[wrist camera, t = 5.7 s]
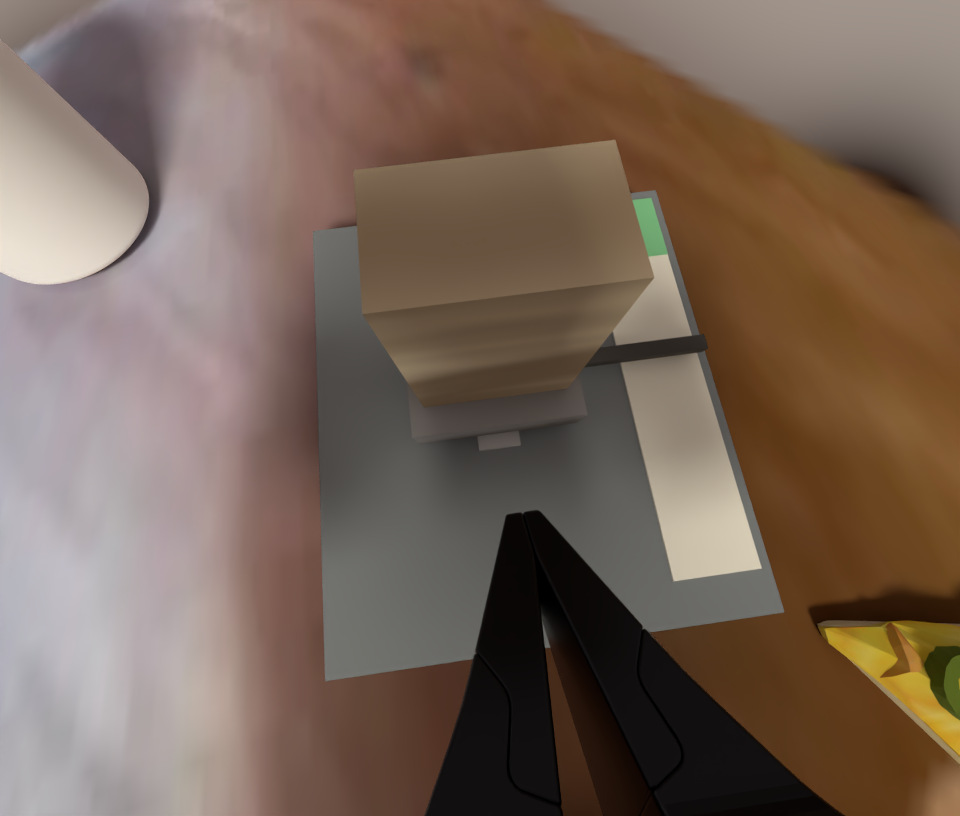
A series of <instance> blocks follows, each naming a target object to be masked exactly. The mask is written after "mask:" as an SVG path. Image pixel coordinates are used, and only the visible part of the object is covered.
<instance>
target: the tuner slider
mask: <svg viewBox="0 0 960 816" xmlns="http://www.w3.org/2000/svg"><path fill="white" fill-rule="evenodd" d="M353 172H354V188H355V204H356V220H357V236H358V253H359V269H360V285H361V301H362V314H363V316H364V317H365V319H366V320H367V322H368V324H369V325H370V327H371V328H372V330H373V331H374V333H375V334H376V336H377V337H378V339H379V340H380V342H381V343H382V345H383V346H384V348H385V349H386V351H387V352H388V354H389V355H390V357H391V358H392V360H393V361H394V363H395V364H396V366H397V367H398V369H399V370H400V372H401V373H402V375H403V376H404V378H405V380H406V381H407V388H408V399H409V410H410V421H411V432H412V438H413V439H414V440H415V441H416V442H417V443H419V444H423V443H430V442H438V441H445V440H452V439H460V438H467V437H475V436H482V435H489V434H497V433H504V432H512V431H519V430H527V429H534V428H541V427H549V426H556V425H564V424H571V423H577V422H579V421H580V420H581V419H582V418H584V417H585V416H586V415H588V414H587V410H586V405H585V400H584V395H583V391H582V386H581V381H580V377H579V373H580V372H581V371H582V369H583V368H584V367H592V366H599V365H607V364H615V363H622V362H630V361H638V360H645V359H653V358H661V357H668V356H676V355H683V354H691V353H699V352H703V351H704V350H706V349H707V348H708V346H707V343H706V340H705V336H704V334H701V335H693V336H685V337H677V338H670V339H662V340H654V341H647V342H639V343H631V344H623V345H616V346H608V347H600V346H601V345H602V344H603V343H604V341H605V340H606V339H607V337H608V336H609V335H610V334H611V332H612V331H613V330H614V329H615V327H616V326H617V325H618V323H619V322H620V321H621V320H622V318H623V317H624V316H625V314H626V313H627V312H628V311H629V309H630V308H631V307H632V306H633V304H634V303H635V302H636V300H637V299H638V298H639V297H640V295H641V294H642V293H643V292H644V290H645V289H646V288H647V286H648V285H649V284H650V283H651V281H652V280H653V279H654V274H653V271H652V267H651V264H650V260H649V257H648V253H647V250H646V246H645V243H644V239H643V236H642V232H641V229H640V225H639V222H638V218H637V215H636V211H635V208H634V204H633V201H632V197H631V194H630V190H629V186H628V183H627V179H626V176H625V172H624V169H623V165H622V162H621V158H620V155H619V151H618V148H617V144H616V141H615V140H611V141H602V142H593V143H585V144H576V145H567V146H559V147H550V148H541V149H533V150H524V151H515V152H507V153H498V154H489V155H481V156H472V157H463V158H455V159H446V160H437V161H428V162H420V163H411V164H402V165H394V166H385V167H376V168H368V169H359V170H353Z"/></svg>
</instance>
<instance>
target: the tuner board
mask: <svg viewBox="0 0 960 816" xmlns="http://www.w3.org/2000/svg"><path fill="white" fill-rule="evenodd" d="M630 194H631V197H632V201H633V204H634V208H635V211H636V215H637V218H638V222H639V225H640V229H641V232H642V236H643V239H644V243H645V246H646V250H647V253H648V257H649V260H650V264H651V267H652V271H653V274H654V279H653V280H652V281H651V283H650V284H649V285H648V286H647V288H646V289H645V290H644V292H643V293H642V294H641V295H640V297H639V298H638V299H637V300H636V302H635V303H634V304H633V306H632V307H631V308H630V309H629V311H628V312H627V313H626V314H625V316H624V317H623V318H622V320H621V321H620V322H619V323H618V325H617V326H616V327H615V329H614V330H613V331H612V332H611V334H610V335H609V336H608V337H607V339H606V340H605V341H604V343H603V344H602V345H601V346H600V347H608V346H616V345H623V344H631V343H639V342H647V341H654V340H662V339H670V338H677V337H685V336H693V335H700V334H699V331H698V328H697V324H696V321H695V318H694V314H693V311H692V308H691V305H690V301H689V298H688V295H687V292H686V288H685V285H684V282H683V278H682V275H681V272H680V269H679V265H678V262H677V259H676V256H675V252H674V249H673V246H672V242H671V239H670V236H669V233H668V229H667V226H666V223H665V220H664V216H663V213H662V210H661V207H660V203H659V200H658V197H657V193H656V190H654V191H646V192H637V193H630ZM313 251H314V288H315V325H316V361H317V398H318V435H319V472H320V509H321V546H322V583H323V620H324V656H325V681H330V680H336V679H343V678H350V677H356V676H363V675H370V674H376V673H383V672H390V671H396V670H403V669H410V668H416V667H423V666H430V665H436V664H443V663H450V662H456V661H463V660H470V659H473V656H474V654H476V653H475V649H476V644H477V640H478V635H479V631H480V627H481V622H482V618H483V613H484V609H485V604H486V600H487V596H488V591H489V587H490V582H491V578H492V574H493V569H494V565H495V560H496V556H497V551H498V547H499V543H500V538H501V534H502V529H503V525H504V521H505V517H506V515H507V514H511V513H518V512H521V513H522V514H523V513H524V512H525V511H532V510H539V511H541V512H542V513H543V514H544V516H545V517H546V518H547V519H548V520H549V521H550V522H551V523H552V525H553V526H554V527H555V528H556V529H557V530H558V531H559V532H560V533H561V535H562V536H563V537H564V538H565V539H566V540H567V541H568V542H569V544H570V545H571V546H572V547H573V548H574V549H575V550H576V551H577V553H578V554H579V555H580V556H581V557H582V558H583V559H584V560H585V561H586V563H587V564H588V565H589V566H590V567H591V568H592V569H593V570H594V572H595V573H596V574H597V575H598V576H599V577H600V578H601V579H602V580H603V582H604V583H605V584H606V585H607V586H608V587H609V588H610V589H611V591H612V592H613V593H614V594H615V595H616V596H617V597H618V598H619V599H620V601H621V602H622V603H623V604H624V605H625V606H626V607H627V608H628V610H629V611H630V612H631V613H632V614H633V615H634V616H635V617H636V618H637V620H638V621H639V622H640V623H641V624H642V625H643V629H647V631H648V632H649V633H650V632H656V631H663V630H670V629H676V628H683V627H690V626H696V625H703V624H710V623H716V622H723V621H730V620H736V619H743V618H750V617H756V616H763V615H770V614H776V613H783V612H784V609H783V606H782V602H781V599H780V596H779V592H778V589H777V586H776V583H775V579H774V576H773V573H772V570H771V566H770V563H769V560H768V556H767V553H766V550H765V547H764V543H763V540H762V537H761V534H760V530H759V527H758V524H757V521H756V517H755V514H754V511H753V507H752V504H751V501H750V498H749V494H748V491H747V488H746V485H745V481H744V478H743V475H742V471H741V468H740V465H739V462H738V458H737V455H736V452H735V449H734V445H733V442H732V439H731V435H730V432H729V429H728V426H727V422H726V419H725V416H724V413H723V409H722V406H721V403H720V399H719V396H718V393H717V390H716V386H715V383H714V380H713V377H712V373H711V370H710V367H709V364H708V360H707V357H706V354H705V350H704V351H703V352H699V353H691V354H683V355H676V356H668V357H661V358H653V359H645V360H638V361H630V362H622V363H615V364H607V365H599V366H592V367H584V368H583V369H582V371H581V372H580V373H579V377H580V381H581V386H582V391H583V395H584V400H585V405H586V410H587V414H588V415H586V416H585V417H584V418H582V419H581V420H580V421H579V422H577V423H571V424H564V425H556V426H549V427H541V428H534V429H527V430H519V431H512V432H504V433H497V434H489V435H482V436H475V437H467V438H460V439H452V440H445V441H438V442H430V443H423V444H419V443H417V442H416V441H415V440H414V439H413V438H412V432H411V421H410V410H409V399H408V388H407V381H406V380H405V378H404V376H403V375H402V373H401V372H400V370H399V369H398V367H397V366H396V364H395V363H394V361H393V360H392V358H391V357H390V355H389V354H388V352H387V351H386V349H385V348H384V346H383V345H382V343H381V342H380V340H379V339H378V337H377V336H376V334H375V333H374V331H373V330H372V328H371V327H370V325H369V324H368V322H367V320H366V319H365V317H364V316H363V314H362V301H361V285H360V269H359V253H358V236H357V226H352V227H344V228H335V229H327V230H318V231H313ZM542 625H543V622H542ZM543 634H544V643H545V648H550V645H549V641H548V638H547V635H546V632H545V629H544V625H543Z"/></svg>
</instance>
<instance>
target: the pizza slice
mask: <svg viewBox="0 0 960 816" xmlns="http://www.w3.org/2000/svg"><path fill="white" fill-rule="evenodd" d="M817 625H818V628H819V631H820V633H821V635H822V637H823V638H824V639H825V640H826V641H827V642H828V643H829V644H831V645H832V646H833V647H834V648H836V649H837V650H838V651H840V652H841V653H842V654H843V655H845V656H846V657H847V658H848V659H849V660H850V661H851V662H852V663H853V664H854V665H856V666H857V667H858V668H859V669H860V670H861V671H862V672H863V673H864V674H865V675H866V676H867V677H868V678H869V679H870V680H871V681H872V682H873V683H875V684H876V685H877V686H878V687H879V688H880V689H881V690H882V691H883V692H884V693H885V694H886V695H887V696H888V697H889V698H890V699H892V700H893V701H894V702H895V703H896V704H897V705H898V706H899V707H900V708H901V709H902V710H903V711H904V712H905V713H906V714H907V715H908V716H909V717H911V718H912V719H913V720H914V721H915V722H916V723H917V724H918V725H919V726H920V727H921V728H922V729H923V730H924V731H925V732H926V733H927V734H929V735H930V736H931V737H932V738H933V739H934V740H935V741H936V742H937V743H938V744H939V745H940V746H941V747H942V748H943V749H944V750H945V751H946V752H948V753H949V754H950V755H951V756H952V757H953V758H954V759H955V760H956V761H957V762H958V763H959V764H960V624H950V623H929V622H918V621H908V620H907V621H891V622H879V621H845V620H830V621H823V622H821V623H818V624H817Z"/></svg>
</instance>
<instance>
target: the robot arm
mask: <svg viewBox="0 0 960 816" xmlns="http://www.w3.org/2000/svg"><path fill="white" fill-rule="evenodd" d="M542 622H543V625H544V629H545V632H546V635H547V638H548V641H549V645H550V648H551V651H552V654H553V657H554V660H555V664H556V667H557V670H558V673H559V676H560V679H561V683H562V686H563V689H564V692H565V695H566V699H567V702H568V705H569V708H570V711H571V714H572V718H573V721H574V724H575V727H576V730H577V734H578V737H579V740H580V743H581V746H582V749H583V753H584V756H585V759H586V762H587V765H588V769H589V772H590V775H591V778H592V781H593V784H594V788H595V791H596V794H597V797H598V800H599V804H600V807H601V810H602V813H603V816H845V815H843V814H842V813H841V812H839V811H838V810H836V809H835V808H834V807H832V806H831V805H830V804H828V803H827V802H826V801H825V800H823V799H822V798H821V797H819V796H818V795H817V794H816V793H815V792H813V791H812V790H811V789H810V788H809V787H807V786H806V785H805V784H804V783H803V782H802V781H800V780H799V779H798V778H797V777H796V776H795V775H794V774H793V773H792V772H791V771H790V770H788V769H787V768H786V767H785V766H784V765H783V764H782V763H781V762H780V761H779V760H778V759H777V758H776V757H775V756H774V755H772V754H771V753H770V752H769V751H768V750H767V749H766V748H765V747H764V746H763V745H762V744H761V743H760V742H759V741H758V740H757V739H755V738H754V737H753V736H752V735H751V734H750V733H749V732H748V731H747V730H746V729H745V728H744V727H743V726H742V725H741V724H740V723H738V722H737V721H736V720H735V719H734V718H733V717H732V716H731V715H730V714H729V713H728V712H727V711H726V710H725V709H724V708H723V707H721V706H720V705H719V704H718V703H717V702H716V701H715V700H714V699H713V698H712V697H711V696H710V695H709V694H708V693H707V692H706V691H705V690H704V689H703V688H702V687H701V686H700V685H699V684H698V683H697V682H696V681H695V680H693V679H692V678H691V677H690V676H689V675H688V674H687V673H686V672H685V671H684V670H683V669H682V668H681V666H680V665H679V664H678V663H677V662H676V661H675V660H674V659H673V658H672V657H671V656H670V655H669V654H668V653H667V652H666V650H665V649H664V648H663V647H662V646H661V645H660V644H659V643H658V642H657V641H656V640H655V638H654V637H653V636H652V635H651V634H650V633H649V632H648V631H647V629H643V625H642V624H641V623H640V622H639V621H638V620H637V618H636V617H635V616H634V615H633V614H632V613H631V612H630V611H629V610H628V608H627V607H626V606H625V605H624V604H623V603H622V602H621V601H620V599H619V598H618V597H617V596H616V595H615V594H614V593H613V592H612V591H611V589H610V588H609V587H608V586H607V585H606V584H605V583H604V582H603V580H602V579H601V578H600V577H599V576H598V575H597V574H596V573H595V572H594V570H593V569H592V568H591V567H590V566H589V565H588V564H587V563H586V561H585V560H584V559H583V558H582V557H581V556H580V555H579V554H578V553H577V551H576V550H575V549H574V548H573V547H572V546H571V545H570V544H569V542H568V541H567V540H566V539H565V538H564V537H563V536H562V535H561V533H560V532H559V531H558V530H557V529H556V528H555V527H554V526H553V525H552V523H551V522H550V521H549V520H548V519H547V518H546V517H545V516H544V514H543V513H542V512H541V511H539V510H532V511H525V512H524V513H523V514H522V513H521V512H518V513H511V514H507V515H506V517H505V521H504V525H503V529H502V534H501V538H500V543H499V547H498V551H497V556H496V560H495V565H494V569H493V574H492V578H491V582H490V587H489V591H488V596H487V600H486V604H485V609H484V613H483V618H482V622H481V627H480V631H479V635H478V640H477V644H476V649H475V653H476V654H474V656H473V661H472V665H471V670H470V674H469V678H468V682H467V686H466V690H465V693H464V697H463V701H462V705H461V708H460V711H459V715H458V718H457V721H456V724H455V727H454V731H453V734H452V737H451V740H450V743H449V746H448V749H447V752H446V755H445V757H444V760H443V763H442V766H441V769H440V772H439V775H438V778H437V781H436V784H435V786H434V789H433V792H432V795H431V798H430V801H429V804H428V807H427V810H426V813H425V815H424V816H563V812H562V809H561V803H562V802H561V793H560V784H559V774H558V765H557V756H556V746H555V737H554V727H553V718H552V709H551V699H550V690H549V681H548V671H547V662H546V653H545V643H544V634H543V625H542Z"/></svg>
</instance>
